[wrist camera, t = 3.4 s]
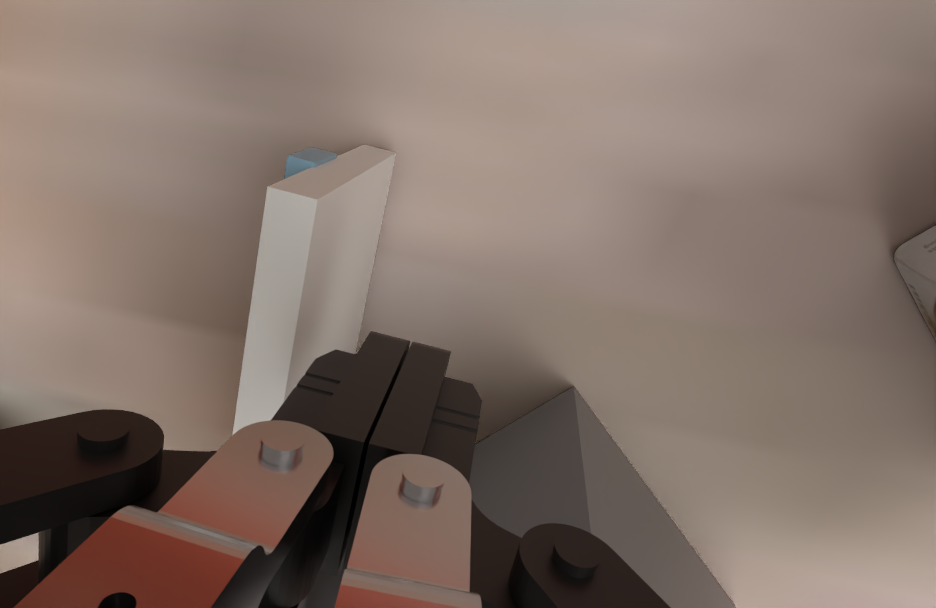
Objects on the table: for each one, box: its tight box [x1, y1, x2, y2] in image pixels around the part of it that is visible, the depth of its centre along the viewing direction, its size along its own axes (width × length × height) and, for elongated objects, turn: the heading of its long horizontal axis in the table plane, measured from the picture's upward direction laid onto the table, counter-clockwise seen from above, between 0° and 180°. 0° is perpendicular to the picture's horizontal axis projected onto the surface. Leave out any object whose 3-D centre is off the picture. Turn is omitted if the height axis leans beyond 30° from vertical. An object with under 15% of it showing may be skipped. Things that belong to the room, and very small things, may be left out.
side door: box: [232, 144, 396, 436], centre depth 17 cm, size 2×13×7 cm, turn 166°
